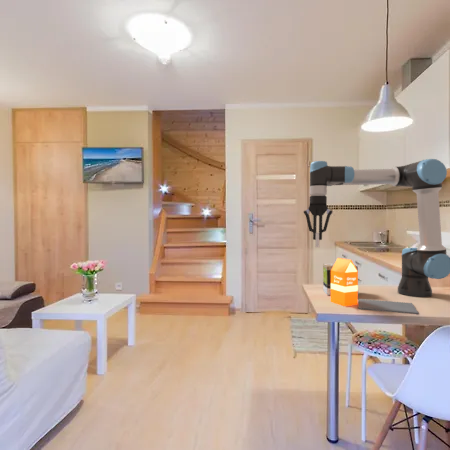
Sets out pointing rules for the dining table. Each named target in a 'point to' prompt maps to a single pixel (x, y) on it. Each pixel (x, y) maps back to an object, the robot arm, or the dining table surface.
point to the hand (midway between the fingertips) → (317, 247)
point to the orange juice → (344, 283)
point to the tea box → (328, 277)
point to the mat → (387, 306)
